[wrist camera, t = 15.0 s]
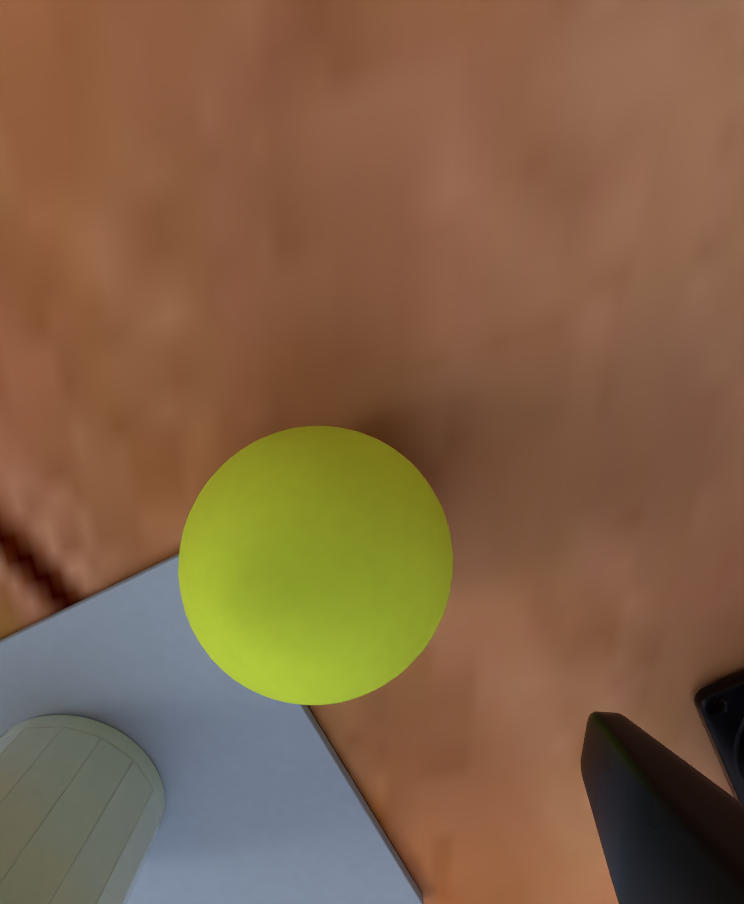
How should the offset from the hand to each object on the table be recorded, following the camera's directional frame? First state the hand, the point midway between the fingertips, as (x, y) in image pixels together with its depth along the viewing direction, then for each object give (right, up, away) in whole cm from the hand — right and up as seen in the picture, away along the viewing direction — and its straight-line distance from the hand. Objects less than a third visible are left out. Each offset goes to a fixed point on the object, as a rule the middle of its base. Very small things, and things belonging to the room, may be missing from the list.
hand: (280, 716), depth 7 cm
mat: (-7, -9, +11) cm, 16 cm away
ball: (0, +2, +8) cm, 9 cm away
